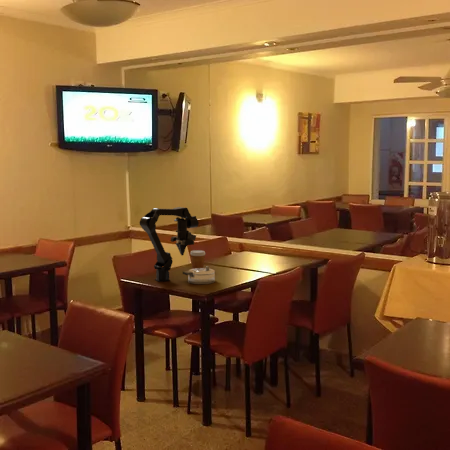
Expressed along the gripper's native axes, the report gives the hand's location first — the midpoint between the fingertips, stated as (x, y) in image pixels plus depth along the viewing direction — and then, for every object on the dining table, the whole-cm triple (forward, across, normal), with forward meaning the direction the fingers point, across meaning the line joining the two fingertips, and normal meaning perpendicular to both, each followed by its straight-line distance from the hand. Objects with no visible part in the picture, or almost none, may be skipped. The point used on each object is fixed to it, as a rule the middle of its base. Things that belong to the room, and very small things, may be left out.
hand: (182, 255), depth 339 cm
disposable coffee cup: (+13, +12, -17) cm, 25 cm away
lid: (+8, -16, -2) cm, 18 cm away
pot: (+13, -16, -4) cm, 21 cm away
